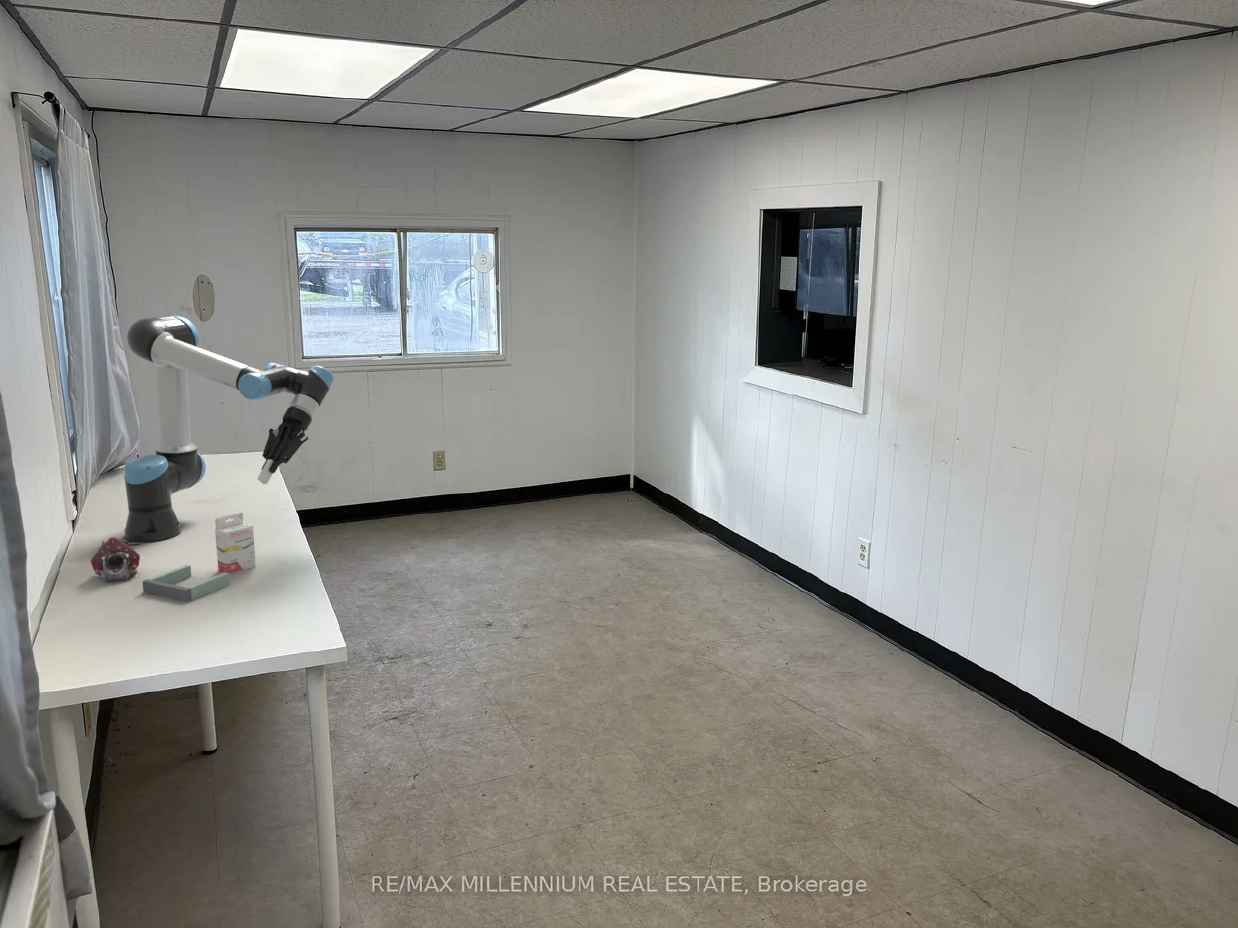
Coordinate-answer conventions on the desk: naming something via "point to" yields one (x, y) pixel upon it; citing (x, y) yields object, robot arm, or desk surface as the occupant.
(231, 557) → the ink cartridge box
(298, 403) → the robot arm
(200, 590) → the cartridge dock
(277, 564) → the desk surface
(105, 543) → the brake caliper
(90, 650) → the desk surface
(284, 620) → the desk surface
